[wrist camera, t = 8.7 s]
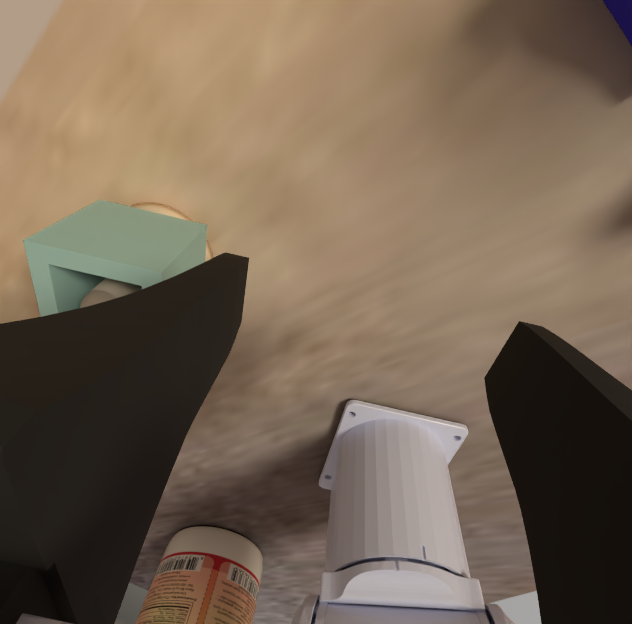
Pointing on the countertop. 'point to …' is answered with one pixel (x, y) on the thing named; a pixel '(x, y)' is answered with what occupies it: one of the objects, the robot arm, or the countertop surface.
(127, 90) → the countertop surface
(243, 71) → the countertop surface
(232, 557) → the fruit juice
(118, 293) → the spindle
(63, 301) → the green hollow cube
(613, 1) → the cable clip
